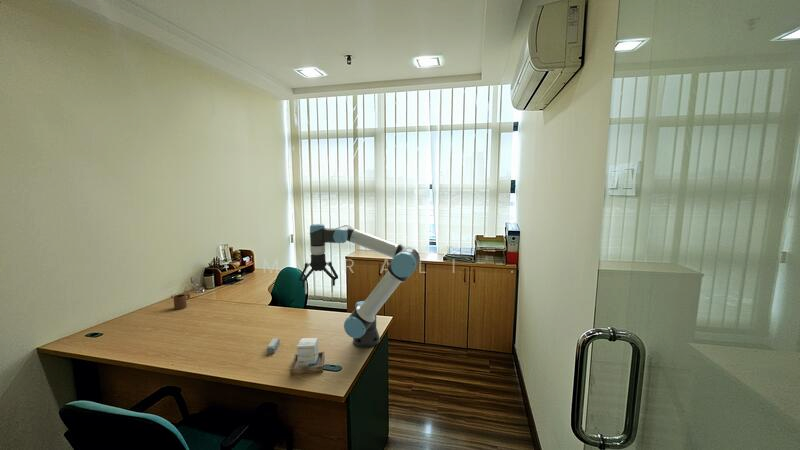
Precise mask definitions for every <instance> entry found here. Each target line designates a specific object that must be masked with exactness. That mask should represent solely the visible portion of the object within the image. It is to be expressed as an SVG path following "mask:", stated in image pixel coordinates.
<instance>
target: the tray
mask: <svg viewBox="0 0 800 450" xmlns="http://www.w3.org/2000/svg"><path fill="white" fill-rule="evenodd" d="M318 356H319V360H318V363H317V366H308V367H298V360H297V353H296V354H295V353H294V357H293V360H292V364H291V366H290V376H296V375H307V374H316V373H323V372H324V364H325V351H318Z"/></svg>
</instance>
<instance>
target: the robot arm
mask: <svg viewBox="0 0 800 450" xmlns="http://www.w3.org/2000/svg"><path fill="white" fill-rule="evenodd" d="M309 239H310V240H309V242H310V249H309V250H310V263H309V262H305V263H304V267H303V270H302V272H301V274H300V276H299V279H298V281H300V282H301V283H302V288H303V289H304V294H305V295H308V283H307V282H308V281H307V279H308V278H309V277H310V276H311V274H312V273H313V272H322V271H323V272H325V274H326V275H327V276H328V277H329V278H330V286H331V287H330V289H331V292H330V293H333V292H334V287H335V286H336V280H338V279H339V275H338V273H337V271H336V270H335V268H334V266H333V264H332V263H333V262H332V261H328V262H327V261H326V259H327V258H326V244H328V243H329V244H330V243H331V244H346V242H349V243H352V244H355V245H358V246H360V247H363V248H366V249H368V250H371V251H374V252H376V253H378V254H381V255H384V256H387V257H388V258H391V259H392V260H391V262H390V263H389V264H388V265H387V267H386V269H387V272H386V273H385V274H384V276H383V277H382V278H381V280H379V282H378V283H377V285H376V286H375V287H374V289H372V291H371V292H370V293H369V295H368V296H367V298H366V299H365V300H362V301H361V300H360V301H357V302H356V303H355V306H354V307H355V308H354V310H353V311H352V312H351V314H350V315H349V316H348V317H346V319H345V321H344V323H343V328H344V329H343V330H344V331H345V333H346V334H347V336H349V337H350V338H351V339H352V342H353V344H354V346H356V347H358V348H371V347H374V346H377V345H378V344H379V343H380V340H381V338H380V334H379V331H378V328H377V313H379V311H380V309H382V307H383V306H384V305H385V303H386V302H387V300H388V299H390V297H391V296H392V294H393V293H394V292H395V290H396V289H397V288H398V287H399V286H400V284H401V283H406V281H407V280H408V279H409V278H410V277H411V275H413V274H414V273H415V271H416V269H417V267H418V266H419V264H420V262H421V260H420V259H421V257H420V254H419V252H418V250H417V249H415V248H413V247H411V246H408V245H405V244H401V243H398V244H397V243H393V242H392V241H389V240H385V239H382V238H379V237H378V236H374V235H372V234H370V233H366V232H363V231H361V230H358V229H355V228H354V227H352V226H351V225H349V224H348V225H347V224H346V225H341V226H339V227H334V228H333V227H332V228H331V227H330V228H327V227H325V225H324V224H323V223H314V224H311V225H309ZM326 266H327V267H329V269H330V271H331V272H330V271H329V270H328V268H327V267H326ZM309 267H310V270H309V271H308V272H307V274H306V275H305V273H306V271H307V269H308V268H309ZM332 273H333V274H332ZM304 275H305V276H304Z"/></svg>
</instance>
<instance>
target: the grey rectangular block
mask: <svg viewBox="0 0 800 450" xmlns="http://www.w3.org/2000/svg"><path fill="white" fill-rule="evenodd" d="M280 346H281V345H280V339H279V337H273V338H272V339H271V341H270V342H269V344H268V345H267V346H266V347H267V348H266V354H267V355H274V354H275V353H276V352H277V350H278V348H279V347H280Z"/></svg>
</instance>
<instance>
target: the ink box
mask: <svg viewBox="0 0 800 450" xmlns="http://www.w3.org/2000/svg"><path fill="white" fill-rule="evenodd" d="M318 352H319V338H318V337H304V338H302V337H301V339H300V340H299V342H298V343H297V345H296V354H297V360H298V367H308V366H317V363H318V360H319V356H318Z"/></svg>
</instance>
